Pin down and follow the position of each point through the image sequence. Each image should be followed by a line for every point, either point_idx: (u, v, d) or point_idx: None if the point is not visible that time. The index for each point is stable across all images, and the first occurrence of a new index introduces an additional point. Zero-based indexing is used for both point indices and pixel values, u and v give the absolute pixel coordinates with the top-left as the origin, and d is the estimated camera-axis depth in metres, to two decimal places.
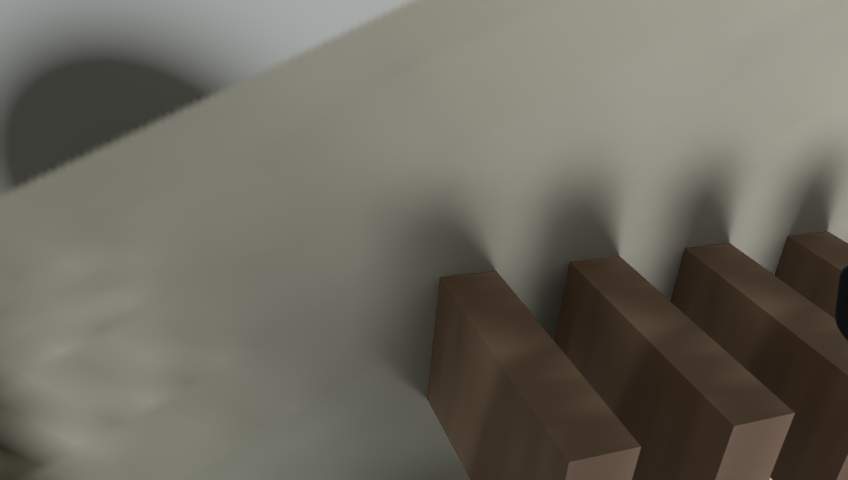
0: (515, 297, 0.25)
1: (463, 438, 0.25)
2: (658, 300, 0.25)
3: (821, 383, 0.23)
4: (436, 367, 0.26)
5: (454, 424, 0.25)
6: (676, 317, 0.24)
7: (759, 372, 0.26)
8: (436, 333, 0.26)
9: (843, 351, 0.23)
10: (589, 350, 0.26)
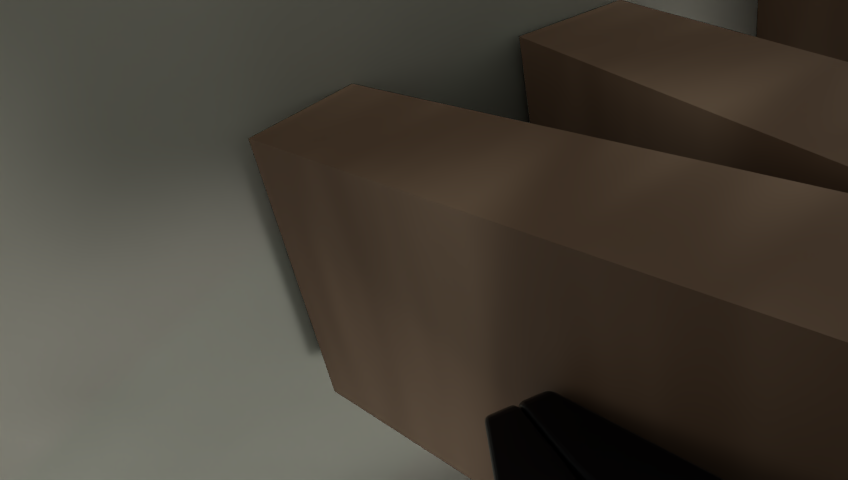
0: (419, 104, 0.11)
1: (453, 430, 0.11)
2: (730, 43, 0.11)
3: None
4: (326, 324, 0.13)
5: (418, 413, 0.12)
6: (787, 60, 0.10)
7: None
8: (295, 259, 0.12)
9: None
10: None
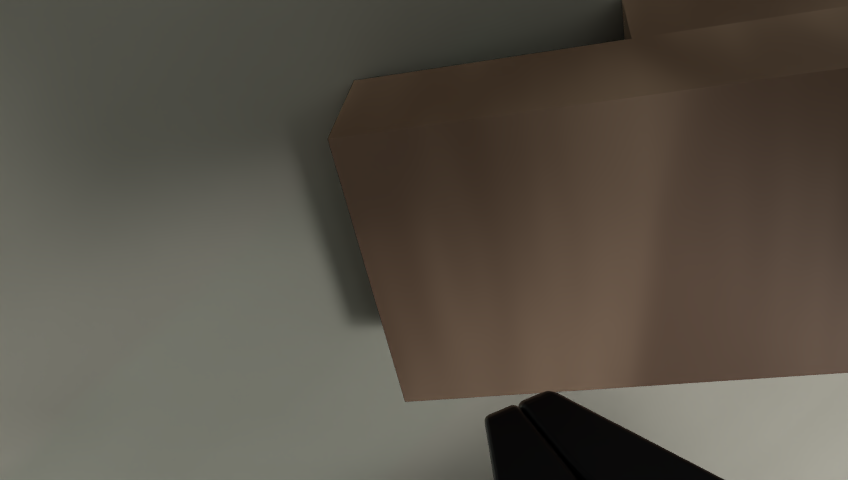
0: (449, 72, 0.12)
1: (587, 344, 0.12)
2: None
3: None
4: (412, 319, 0.12)
5: (538, 354, 0.12)
6: None
7: None
8: (375, 261, 0.12)
9: None
10: None
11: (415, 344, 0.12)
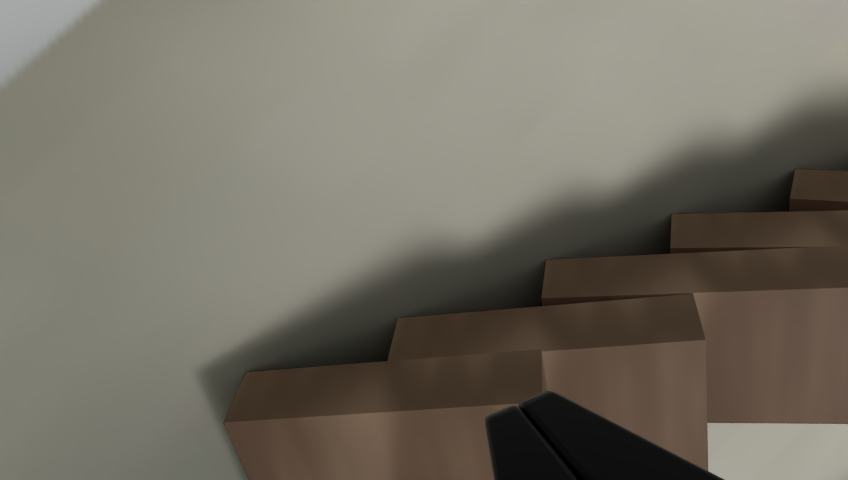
0: (295, 370, 0.22)
1: None
2: (491, 317, 0.23)
3: (797, 312, 0.21)
4: None
5: None
6: (525, 315, 0.22)
7: (714, 348, 0.23)
8: (253, 475, 0.22)
9: (782, 272, 0.22)
10: None
11: None
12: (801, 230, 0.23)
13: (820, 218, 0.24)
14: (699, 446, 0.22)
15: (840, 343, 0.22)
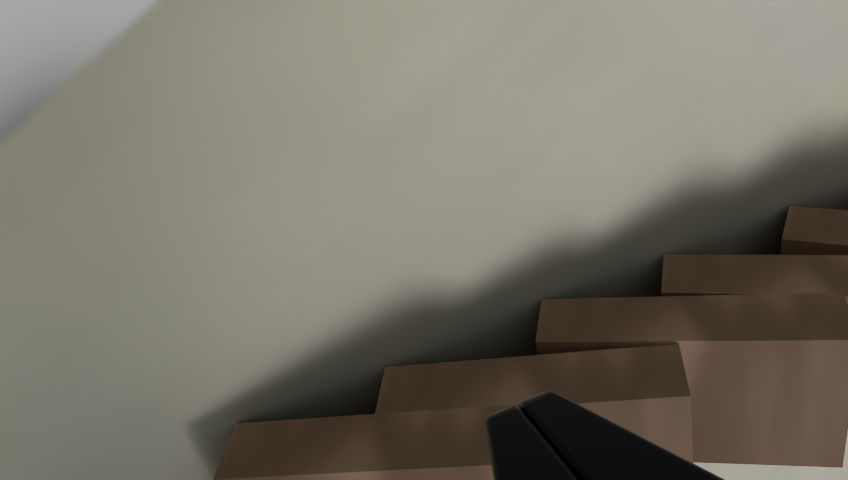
0: (285, 422, 0.22)
1: None
2: (477, 368, 0.23)
3: (791, 362, 0.21)
4: None
5: None
6: (511, 365, 0.22)
7: (708, 393, 0.23)
8: None
9: (777, 320, 0.22)
10: None
11: None
12: (792, 276, 0.23)
13: (812, 263, 0.24)
14: None
15: (834, 392, 0.22)
